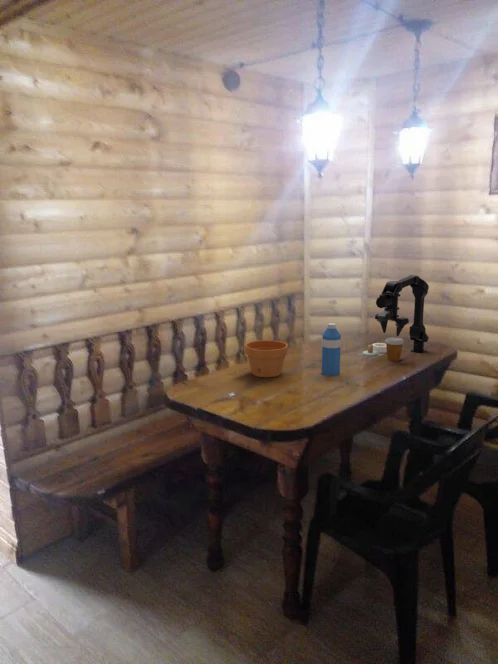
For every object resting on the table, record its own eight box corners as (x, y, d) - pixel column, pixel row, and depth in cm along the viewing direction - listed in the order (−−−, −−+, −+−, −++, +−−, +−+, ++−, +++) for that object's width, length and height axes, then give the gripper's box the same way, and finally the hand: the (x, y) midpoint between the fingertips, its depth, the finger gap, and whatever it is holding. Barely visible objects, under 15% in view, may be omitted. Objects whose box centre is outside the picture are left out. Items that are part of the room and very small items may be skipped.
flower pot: (253, 365, 291) (253, 338, 288) (292, 369, 284) (292, 341, 281) (239, 377, 272) (238, 348, 268) (280, 381, 265) (280, 351, 261)
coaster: (367, 352, 315) (367, 350, 315) (384, 355, 308) (384, 354, 308) (356, 355, 308) (356, 354, 308) (373, 359, 300) (373, 358, 300)
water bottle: (342, 371, 279) (343, 322, 274) (337, 376, 271) (338, 326, 266) (324, 369, 283) (325, 321, 278) (318, 374, 275) (319, 325, 269)
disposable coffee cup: (401, 358, 302) (402, 337, 299) (404, 363, 293) (405, 341, 290) (383, 358, 303) (384, 336, 300) (385, 363, 294) (386, 340, 291)
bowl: (377, 348, 322) (377, 342, 321) (391, 351, 316) (392, 344, 315) (368, 351, 316) (369, 345, 315) (382, 354, 310) (383, 347, 309)
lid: (368, 351, 313) (368, 342, 312) (380, 354, 308) (380, 345, 307) (360, 354, 308) (360, 345, 307) (372, 357, 302) (372, 347, 301)
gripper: (368, 304, 296) (367, 333, 300) (395, 310, 281) (393, 340, 285) (382, 302, 302) (381, 330, 306) (410, 307, 287) (408, 337, 291)
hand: (390, 334), depth 297 cm, fingers open, 9 cm apart
